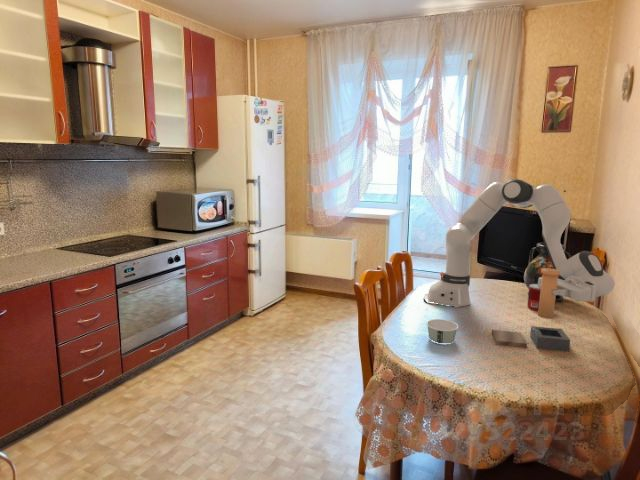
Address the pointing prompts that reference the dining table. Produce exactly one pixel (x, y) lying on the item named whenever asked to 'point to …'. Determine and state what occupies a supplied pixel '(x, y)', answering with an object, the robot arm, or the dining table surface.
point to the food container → (442, 330)
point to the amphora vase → (540, 266)
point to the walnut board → (509, 338)
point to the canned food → (534, 297)
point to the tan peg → (548, 292)
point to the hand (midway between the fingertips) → (546, 289)
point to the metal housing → (549, 338)
